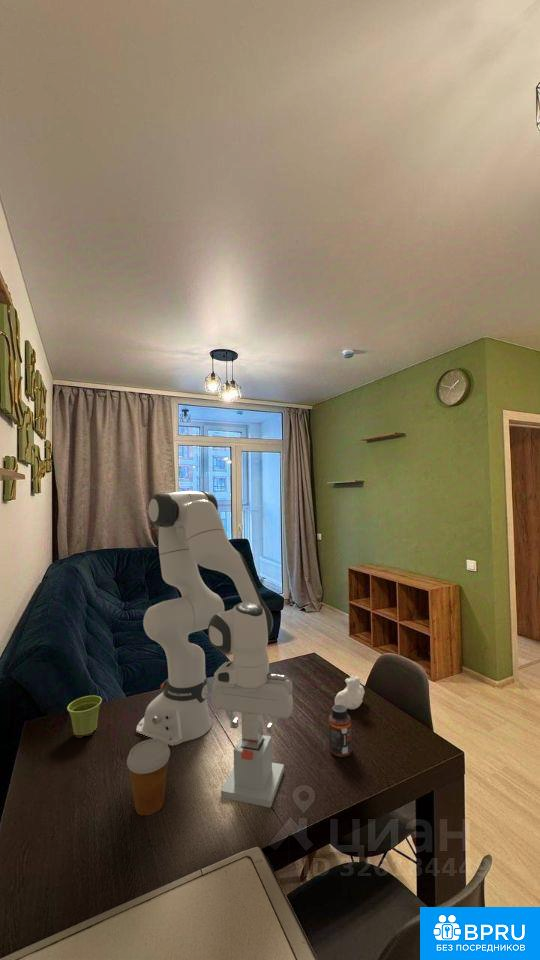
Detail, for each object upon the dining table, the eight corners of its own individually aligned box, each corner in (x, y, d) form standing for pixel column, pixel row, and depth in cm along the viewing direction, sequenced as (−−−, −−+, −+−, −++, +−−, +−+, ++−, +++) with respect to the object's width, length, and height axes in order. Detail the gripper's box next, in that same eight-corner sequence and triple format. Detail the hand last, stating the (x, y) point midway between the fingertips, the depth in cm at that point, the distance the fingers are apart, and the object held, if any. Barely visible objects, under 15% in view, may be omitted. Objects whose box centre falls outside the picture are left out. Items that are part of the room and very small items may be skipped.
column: (243, 781, 92) (241, 712, 93) (248, 769, 96) (247, 703, 97) (259, 784, 91) (257, 714, 92) (264, 772, 95) (262, 705, 96)
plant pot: (60, 738, 114) (59, 708, 114) (86, 721, 122) (86, 693, 123) (83, 745, 110) (83, 714, 110) (109, 727, 119) (108, 698, 119)
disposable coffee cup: (147, 829, 82) (146, 770, 82) (118, 810, 87) (117, 755, 87) (179, 798, 90) (179, 745, 90) (151, 783, 95) (151, 733, 95)
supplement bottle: (352, 759, 101) (350, 715, 102) (329, 757, 102) (327, 713, 103) (352, 745, 107) (350, 703, 107) (330, 743, 108) (328, 701, 109)
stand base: (221, 797, 90) (220, 752, 90) (239, 762, 101) (238, 723, 102) (270, 807, 86) (269, 761, 87) (284, 770, 98) (282, 730, 98)
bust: (338, 719, 123) (352, 700, 118) (325, 696, 128) (338, 677, 123) (365, 707, 129) (380, 688, 124) (351, 686, 135) (365, 667, 129)
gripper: (295, 670, 95) (297, 728, 94) (218, 662, 101) (219, 717, 100) (289, 682, 89) (291, 744, 88) (207, 673, 95) (209, 731, 94)
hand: (252, 729), depth 94 cm, fingers open, 8 cm apart
